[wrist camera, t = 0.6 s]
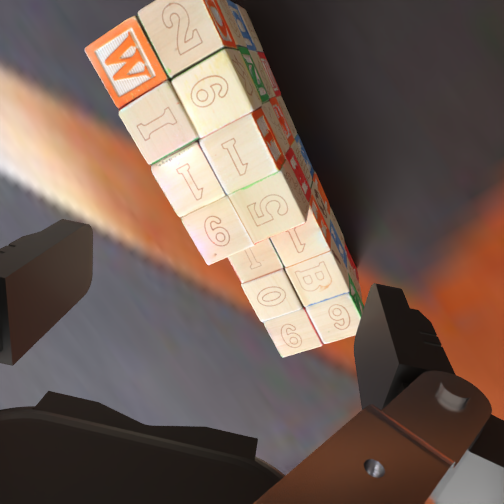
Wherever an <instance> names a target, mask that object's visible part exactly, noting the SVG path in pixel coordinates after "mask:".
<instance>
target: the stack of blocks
mask: <svg viewBox="0 0 504 504" xmlns="http://www.w3.org/2000/svg"><path fill="white" fill-rule="evenodd" d="M85 52H86V54H87V56H88V58H89V59H90V61H91V63H92V65H93V66H94V68H95V70H96V71H97V73H98V75H99V77H100V78H101V80H102V82H103V84H104V86H105V88H106V89H107V91H108V93H109V94H110V96H111V98H112V100H113V101H114V103H115V105H116V106H117V107H118V108H119V116H120V118H121V119H122V121H123V123H124V124H125V126H126V128H127V130H128V131H129V133H130V134H131V136H132V138H133V140H134V141H135V143H136V145H137V147H138V148H139V150H140V152H141V153H142V155H143V157H144V158H145V160H146V161H147V163H148V164H149V165H151V166H152V167H151V171H152V174H153V175H154V177H155V179H156V181H157V182H158V184H159V185H160V187H161V189H162V190H163V192H164V194H165V195H166V197H167V199H168V200H169V202H170V204H171V205H172V207H173V209H174V211H175V212H176V214H177V215H178V216H179V217H180V218H181V220H182V223H183V225H184V226H185V228H186V230H187V231H188V233H189V235H190V236H191V238H192V240H193V242H194V243H195V245H196V247H197V248H198V250H199V252H200V253H201V255H202V257H203V258H204V260H205V262H206V264H208V265H210V264H213V263H215V262H217V261H219V260H222V259H224V258H226V257H227V258H228V260H229V262H230V264H231V265H232V267H233V269H234V271H235V273H236V275H237V276H238V278H239V280H240V282H241V286H242V288H243V290H244V292H245V294H246V295H247V297H248V299H249V301H250V303H251V305H252V306H253V308H254V310H255V312H256V314H257V316H258V317H259V319H260V321H261V322H263V323H264V325H265V327H266V329H267V331H268V333H269V335H270V337H271V338H272V340H273V342H274V344H275V346H276V348H277V350H278V351H279V353H280V355H281V357H282V358H283V357H286V356H290V355H293V354H296V353H300V352H303V351H306V350H310V349H313V348H317V347H320V346H322V345H323V344H327V343H331V342H334V341H337V340H341V339H344V338H347V337H350V336H354V335H356V332H357V329H358V325H359V322H360V319H361V316H362V313H363V309H364V305H363V303H362V296H361V289H360V285H359V277H358V272H357V268H356V266H355V264H354V261H353V259H352V257H351V255H350V253H349V250H348V248H347V246H346V244H345V241H344V237H343V234H342V232H341V230H340V227H339V225H338V223H337V220H336V218H335V216H334V214H333V211H332V209H331V207H330V205H329V202H328V199H327V197H326V195H325V193H324V190H323V188H322V186H321V183H320V181H319V179H318V176H317V174H316V172H315V171H314V170H313V167H312V165H311V163H310V160H309V158H308V156H307V154H306V151H305V149H304V146H303V144H302V142H301V140H300V137H299V135H298V134H297V131H296V129H295V126H294V124H293V122H292V119H291V117H290V115H289V113H288V110H287V108H286V106H285V103H284V101H283V99H282V97H281V92H280V90H279V87H278V85H277V82H276V80H275V78H274V76H273V73H272V71H271V68H270V66H269V64H268V61H267V59H266V57H265V55H264V52H263V49H262V46H261V44H260V42H259V39H258V37H257V35H256V32H255V30H254V28H253V25H252V23H251V21H250V18H249V16H248V14H247V11H246V10H245V9H244V8H242V7H240V6H239V5H238V4H234V3H233V2H231V1H230V0H155V1H154V2H152V3H150V4H149V5H147V6H146V7H144V8H142V9H141V10H140V11H138V16H133V17H130V18H129V19H127V20H125V21H124V22H122V23H121V24H119V25H118V26H116V27H115V28H113V29H112V30H110V31H109V32H107V33H106V34H104V35H103V36H101V37H100V38H98V39H97V40H95V41H94V42H92V43H91V44H90V45H88V46H87V47H86V48H85Z"/></svg>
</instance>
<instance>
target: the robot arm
mask: <svg viewBox="0 0 504 504" xmlns="http://www.w3.org/2000/svg"><path fill="white" fill-rule="evenodd" d="M92 268H93V232H92V228H91V226H90V225H89V224H84V223H79V222H74V221H69V220H64V219H62V220H60V221H58V222H56V223H54V224H53V225H51V226H49V227H48V228H46V229H44V230H42V231H41V232H37V233H34V234H30V235H26V236H23V237H21V238H19V239H17V240H15V241H14V242H12V243H10V244H9V246H5V247H3V248H1V249H0V363H3V364H7V365H12V366H13V365H14V364H15V363H16V362H17V361H18V360H19V359H20V358H21V357H22V356H23V355H24V354H25V353H26V352H27V351H28V350H29V349H30V348H31V347H32V346H33V345H34V344H35V343H36V342H37V341H38V340H39V339H40V338H41V337H42V336H44V335H45V334H46V333H47V332H48V331H49V330H50V329H51V328H52V327H53V326H54V325H55V324H56V323H57V322H58V321H59V320H60V319H61V318H62V317H63V316H64V315H65V314H66V313H67V312H68V311H69V310H70V309H71V308H72V307H73V306H74V305H75V304H76V303H77V302H78V301H79V300H80V299H81V298H82V297H83V296H84V295H85V294H86V293H87V291H88V289H89V287H90V284H91V281H92ZM436 335H437V334H436V332H435V330H434V328H433V326H432V324H431V322H430V321H429V320H428V319H427V318H426V317H425V316H424V315H423V314H422V313H421V312H420V311H419V310H415V309H410V308H409V305H408V303H407V300H406V298H405V295H404V293H403V291H402V289H399V288H395V287H390V286H385V285H380V284H375V283H374V284H373V285H372V286H371V288H370V291H369V294H368V297H367V300H366V303H365V306H364V309H363V313H362V316H361V319H360V322H359V325H358V329H357V332H356V336H355V342H354V357H355V364H356V370H357V377H358V384H359V391H360V398H361V405H362V411H360V412H359V413H358V414H357V415H356V416H355V417H353V418H352V419H351V420H350V421H349V422H348V423H346V424H345V425H344V426H343V427H342V428H341V429H339V430H338V431H337V432H336V433H335V434H334V435H332V436H331V437H330V438H329V439H328V440H327V441H325V442H324V443H323V444H322V445H321V446H320V447H318V448H317V449H316V450H315V451H314V452H312V453H311V454H310V455H309V456H308V457H307V458H305V459H304V460H303V461H302V462H301V463H300V464H298V465H297V466H296V467H295V468H294V469H293V470H291V471H290V472H289V473H288V474H287V475H286V476H285V475H284V474H283V473H281V472H280V471H279V470H277V469H276V468H275V467H273V466H271V465H270V464H268V463H267V462H265V461H263V460H261V459H259V458H257V457H255V455H256V448H257V441H258V439H257V438H252V437H248V436H243V435H239V434H235V433H230V432H226V431H222V430H217V429H213V428H208V427H190V426H149V425H144V424H142V423H140V422H138V421H136V420H134V419H132V418H130V417H128V416H125V415H123V414H121V413H119V412H117V411H115V410H113V409H111V408H109V407H107V406H105V405H103V404H101V403H99V402H95V401H90V400H86V399H82V398H77V397H73V396H69V395H64V394H60V393H55V392H51V391H48V392H47V393H46V394H45V396H44V397H43V398H42V399H41V400H40V402H39V403H38V404H37V405H36V406H29V407H16V408H9V409H3V410H0V504H504V421H503V420H501V419H499V418H497V417H495V416H493V415H492V414H491V413H492V408H491V404H490V402H489V400H488V399H487V398H486V396H485V395H484V394H483V393H482V392H481V391H480V390H479V389H478V388H477V387H475V386H474V385H473V384H471V383H470V382H468V381H466V380H465V379H463V378H461V377H459V376H456V375H455V373H454V371H453V368H452V366H451V364H450V362H449V360H448V358H447V356H446V353H445V351H444V349H443V347H441V343H440V341H439V338H438V337H436Z"/></svg>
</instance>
